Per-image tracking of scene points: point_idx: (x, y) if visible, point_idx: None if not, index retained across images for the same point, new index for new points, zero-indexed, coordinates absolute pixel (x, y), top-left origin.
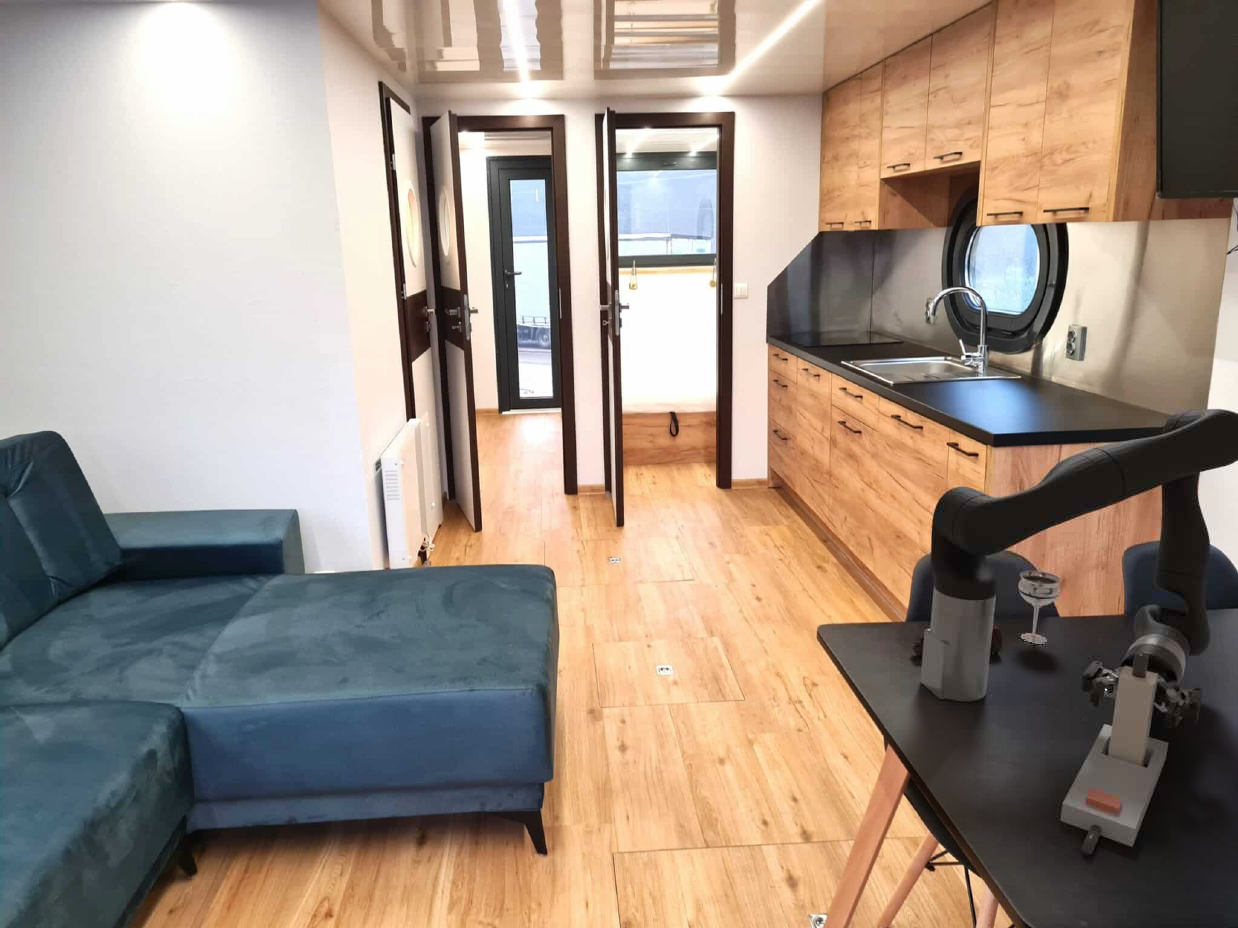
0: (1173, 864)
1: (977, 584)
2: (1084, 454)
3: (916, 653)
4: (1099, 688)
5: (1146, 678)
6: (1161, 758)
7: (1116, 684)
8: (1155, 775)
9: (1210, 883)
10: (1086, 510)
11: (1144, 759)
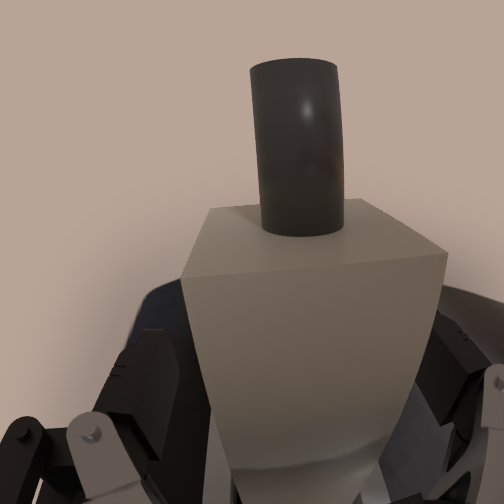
0: (184, 317)
1: None
2: None
3: None
4: (445, 329)
5: (252, 222)
6: (204, 501)
7: (463, 466)
8: (210, 422)
9: (151, 313)
10: None
11: None
